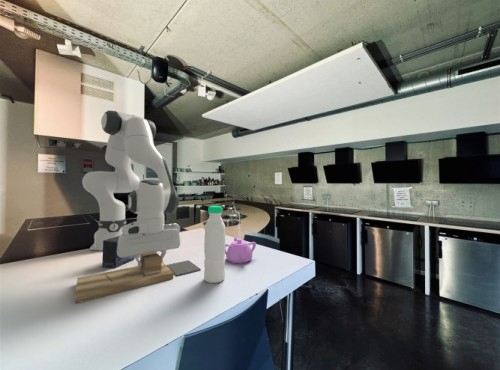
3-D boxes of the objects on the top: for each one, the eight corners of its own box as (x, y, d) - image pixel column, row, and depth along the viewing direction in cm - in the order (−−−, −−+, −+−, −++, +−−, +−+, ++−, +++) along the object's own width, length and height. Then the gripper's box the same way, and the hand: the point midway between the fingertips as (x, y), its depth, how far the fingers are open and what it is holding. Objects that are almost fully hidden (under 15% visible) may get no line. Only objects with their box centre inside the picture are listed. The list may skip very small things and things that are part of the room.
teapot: (234, 253, 101) (234, 234, 101) (260, 258, 93) (260, 238, 94) (218, 260, 90) (218, 240, 91) (245, 267, 83) (246, 244, 83)
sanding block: (140, 267, 77) (140, 253, 77) (154, 264, 80) (154, 250, 80) (145, 275, 70) (145, 260, 70) (161, 271, 73) (161, 257, 73)
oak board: (77, 284, 68) (77, 278, 68) (161, 266, 84) (162, 261, 84) (75, 303, 57) (75, 295, 57) (173, 278, 73) (173, 272, 73)
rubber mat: (166, 266, 84) (166, 264, 84) (188, 261, 89) (188, 260, 89) (176, 276, 74) (176, 274, 74) (200, 270, 80) (200, 269, 80)
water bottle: (199, 279, 72) (200, 206, 72) (216, 273, 77) (216, 204, 77) (212, 286, 67) (213, 207, 67) (229, 279, 72) (229, 206, 73)
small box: (115, 268, 81) (115, 241, 81) (101, 267, 82) (101, 240, 82) (135, 259, 91) (135, 235, 91) (122, 258, 93) (123, 234, 93)
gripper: (177, 221, 84) (176, 256, 83) (116, 227, 71) (115, 268, 71) (183, 223, 79) (182, 261, 78) (118, 230, 66) (118, 274, 66)
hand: (150, 264), depth 75 cm, fingers closed on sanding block, 5 cm apart
